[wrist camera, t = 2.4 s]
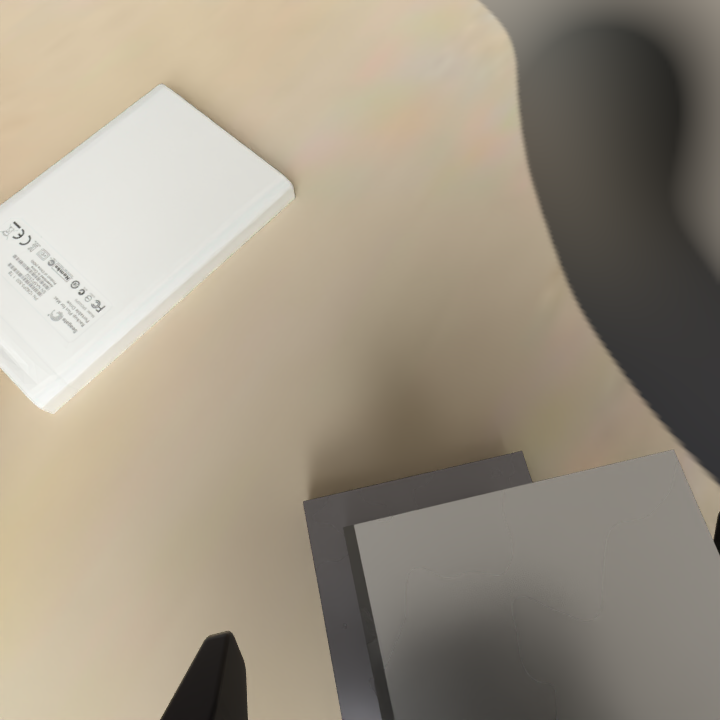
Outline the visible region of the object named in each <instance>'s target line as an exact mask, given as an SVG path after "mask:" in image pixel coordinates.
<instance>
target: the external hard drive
mask: <svg viewBox="0 0 720 720" xmlns="http://www.w3.org/2000/svg"><path fill="white" fill-rule="evenodd" d="M294 199H295V193H294V187H293V185H292V183H291V182H290V181H289V180H288V179H287V178H286V177H285V176H284V175H283V174H281V173H280V172H279V171H278V170H276V169H275V168H274V167H272V166H271V165H270V164H268V163H267V162H266V161H265V160H263V159H262V158H261V157H259V156H258V155H257V154H255V153H254V152H253V151H251V150H250V149H249V148H247V147H246V146H245V145H243V144H242V143H241V142H239V141H238V140H237V139H236V138H234V137H233V136H232V135H230V134H229V133H228V132H227V131H225V130H224V129H222V128H221V127H220V126H218V125H217V124H216V123H214V122H213V121H212V120H211V119H210V118H208V117H207V116H205V115H204V114H203V113H202V112H200V111H199V110H197V109H196V108H195V107H194V106H193V105H191V104H190V103H188V102H187V101H186V100H184V99H183V98H182V97H181V96H179V95H178V94H176V93H175V92H174V91H173V90H171V89H170V88H168V87H167V86H165V85H163V84H159V85H158V86H156V87H155V88H154V89H152V90H151V91H150V92H149V93H147V94H146V95H145V96H143V97H142V98H140V99H139V100H138V101H137V102H135V103H134V104H133V105H131V106H130V107H129V108H127V109H126V110H125V111H123V112H122V113H121V114H120V115H118V116H117V117H116V118H114V119H113V120H112V121H110V122H109V123H108V124H107V125H105V126H104V127H103V128H101V129H100V130H99V131H97V132H96V133H95V134H93V135H92V136H91V137H89V138H88V139H87V140H86V141H84V142H83V143H82V144H80V145H79V146H78V147H76V148H75V149H74V150H72V151H71V152H70V153H68V154H67V155H66V156H65V157H63V158H62V159H61V160H59V161H58V162H57V163H55V164H54V165H53V166H51V167H50V168H49V169H47V170H46V171H45V172H43V173H42V174H41V175H40V176H38V177H37V178H36V179H34V180H33V181H32V182H30V183H29V184H28V185H26V186H25V187H24V188H22V189H21V190H20V191H19V192H17V193H16V194H15V195H13V196H12V197H11V198H9V199H8V200H7V201H5V202H4V203H3V204H1V205H0V368H1V369H2V370H3V371H4V372H5V373H6V375H7V376H8V377H9V378H10V379H11V380H12V381H13V382H14V383H15V384H16V385H17V386H18V387H19V389H20V390H21V391H22V392H23V393H24V394H25V395H26V396H27V397H28V398H29V399H30V400H31V401H32V402H33V403H34V404H35V405H36V406H37V407H39V408H40V409H42V410H44V411H47V412H49V413H51V414H54V413H55V412H57V411H58V410H59V409H60V408H61V407H62V406H63V405H64V404H66V403H67V402H68V401H69V400H70V399H71V398H72V397H73V396H75V395H76V394H77V393H78V392H79V391H80V390H81V389H82V388H83V387H85V386H86V385H87V384H88V383H89V382H90V381H92V380H93V379H94V378H95V377H96V376H97V375H98V374H99V373H100V372H102V371H103V370H104V369H105V368H106V367H107V366H108V365H109V364H111V363H112V362H113V361H114V360H115V359H116V358H117V357H118V356H120V355H121V354H122V353H123V352H124V351H125V350H126V349H127V348H128V347H130V346H131V345H132V344H133V343H134V342H135V341H136V340H137V339H139V338H140V337H141V336H142V335H143V334H144V333H145V332H146V331H148V330H149V329H150V328H151V327H152V326H153V325H154V324H155V323H156V322H158V321H159V320H160V319H161V318H162V317H163V316H164V315H165V314H167V313H168V312H169V311H170V310H171V309H172V308H173V307H174V306H175V305H177V304H178V303H179V302H180V301H181V300H182V299H183V298H184V297H186V296H187V295H188V294H189V293H190V292H191V291H192V290H193V289H194V288H195V287H197V286H198V285H199V284H200V283H201V282H202V281H203V280H204V279H206V278H207V277H208V276H209V275H210V274H211V273H212V272H213V271H215V270H216V269H217V268H218V267H219V266H220V265H221V264H222V263H223V262H225V261H226V260H227V259H228V258H229V257H230V256H231V255H233V254H234V253H235V252H236V251H237V250H238V249H239V248H240V247H241V246H243V245H244V244H245V243H246V242H247V241H248V240H249V239H250V238H251V237H252V236H254V235H255V234H256V233H257V232H258V231H259V230H260V229H261V228H263V227H264V226H265V225H266V224H267V223H268V222H269V221H270V220H271V219H273V218H274V217H275V216H276V215H277V214H278V213H279V212H280V211H281V210H283V209H284V208H285V207H286V206H287V205H288V204H289V203H290V202H291V201H293V200H294Z"/></svg>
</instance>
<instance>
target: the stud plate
mask: <svg viewBox="0 0 720 720" xmlns="http://www.w3.org/2000/svg"><path fill="white" fill-rule="evenodd" d="M529 483H532V480H531V477H530V474H529V471H528V468H527V465H526V462H525V459H524V456H523V453H522V451H520V452H515V453H511V454H507V455H502V456H498V457H494V458H489V459H485V460H481V461H476V462H472V463H468V464H463V465H459V466H455V467H450V468H446V469H442V470H437V471H433V472H429V473H424V474H420V475H416V476H411V477H407V478H403V479H398V480H394V481H390V482H385V483H381V484H377V485H372V486H368V487H364V488H359V489H355V490H351V491H346V492H342V493H338V494H333V495H329V496H325V497H320V498H316V499H312V500H307V501H303V504H304V510H305V516H306V521H307V527H308V532H309V538H310V543H311V549H312V554H313V560H314V565H315V571H316V577H317V582H318V588H319V593H320V599H321V604H322V610H323V615H324V621H325V626H326V632H327V638H328V643H329V649H330V654H331V660H332V665H333V671H334V676H335V682H336V687H337V693H338V699H339V704H340V710H341V715H342V720H382V718H381V713H380V708H379V703H378V698H377V693H376V688H375V684H374V679H373V674H372V669H371V664H370V659H369V654H368V649H367V644H366V639H365V634H364V629H363V624H362V619H361V614H360V610H359V605H358V600H357V595H356V590H355V585H354V580H353V575H352V570H351V565H350V560H349V555H348V550H347V545H346V540H345V536H344V531H343V527H346V526H350V525H355V524H359V523H363V522H367V521H372V520H376V519H380V518H384V517H389V516H393V515H397V514H401V513H406V512H410V511H414V510H418V509H423V508H427V507H431V506H435V505H440V504H444V503H448V502H452V501H457V500H461V499H465V498H469V497H474V496H478V495H482V494H486V493H491V492H495V491H499V490H503V489H508V488H512V487H516V486H521V485H525V484H529Z"/></svg>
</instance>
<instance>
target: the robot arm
mask: <svg viewBox="0 0 720 720" xmlns="http://www.w3.org/2000/svg"><path fill="white" fill-rule="evenodd" d="M714 544H715V546H716V548H717V550H718V553H719V555H720V512H719V514H718V517H717V523H716V529H715V535H714ZM160 720H248V713H247V685H246V669H245V663H244V660H243V657H242V655H241V652H240V650H239V647H238V645H237V642H236V640H235V637H234V635H233V634H232V633H231V632H230V631H225V632H221V633H217V634H213V635H210V636H208V637H207V638H206V639H205V640H204V642H203V644H202V646H201V647H200V649H199V651H198V653H197V655H196V656H195V658H194V660H193V662H192V664H191V665H190V667H189V669H188V671H187V673H186V674H185V676H184V678H183V680H182V682H181V683H180V685H179V687H178V689H177V691H176V692H175V694H174V696H173V698H172V700H171V701H170V703H169V705H168V707H167V709H166V710H165V712H164V714H163V716H162V717H161V719H160Z"/></svg>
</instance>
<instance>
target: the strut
mask: <svg viewBox="0 0 720 720" xmlns="http://www.w3.org/2000/svg"><path fill="white" fill-rule="evenodd" d="M343 531H344V536H345V540H346V545H347V550H348V555H349V560H350V565H351V570H352V575H353V580H354V585H355V590H356V595H357V600H358V605H359V610H360V614H361V619H362V624H363V629H364V634H365V639H366V644H367V649H368V654H369V659H370V664H371V669H372V674H373V679H374V684H375V688H376V693H377V698H378V703H379V708H380V713H381V718H382V720H720V555H719V553H718V550H717V548H716V546H715V544H714V541H713V539H712V537H711V534H710V532H709V530H708V527H707V525H706V523H705V521H704V518H703V516H702V514H701V511H700V509H699V507H698V504H697V502H696V500H695V498H694V495H693V493H692V491H691V488H690V486H689V484H688V482H687V479H686V477H685V475H684V472H683V470H682V468H681V465H680V463H679V461H678V459H677V456H676V454H675V452H674V450H670V451H665V452H661V453H657V454H653V455H648V456H644V457H640V458H636V459H631V460H627V461H623V462H619V463H614V464H610V465H606V466H602V467H597V468H593V469H589V470H585V471H580V472H576V473H572V474H568V475H563V476H559V477H555V478H551V479H546V480H542V481H538V482H534V483H529V484H525V485H521V486H516V487H512V488H508V489H503V490H499V491H495V492H491V493H486V494H482V495H478V496H474V497H469V498H465V499H461V500H457V501H452V502H448V503H444V504H440V505H435V506H431V507H427V508H423V509H418V510H414V511H410V512H406V513H401V514H397V515H393V516H389V517H384V518H380V519H376V520H372V521H367V522H363V523H359V524H355V525H350V526H346V527H343Z"/></svg>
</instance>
